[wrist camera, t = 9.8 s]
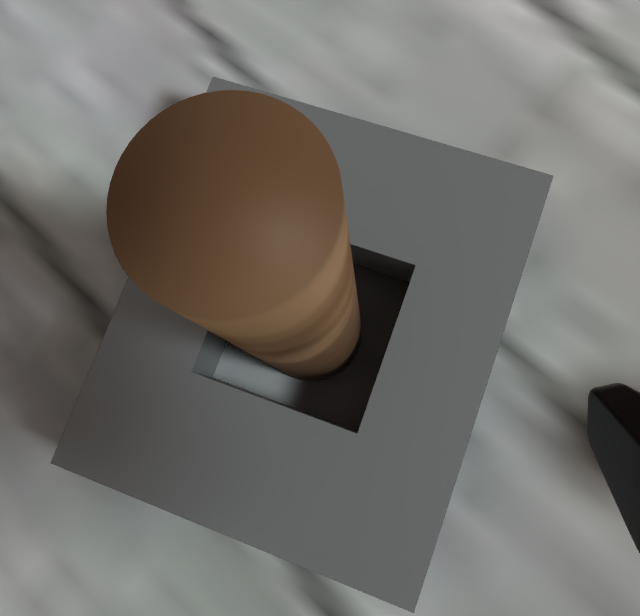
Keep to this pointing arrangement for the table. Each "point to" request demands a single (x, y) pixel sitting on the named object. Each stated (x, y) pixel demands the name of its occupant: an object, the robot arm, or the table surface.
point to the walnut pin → (241, 229)
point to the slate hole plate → (311, 431)
